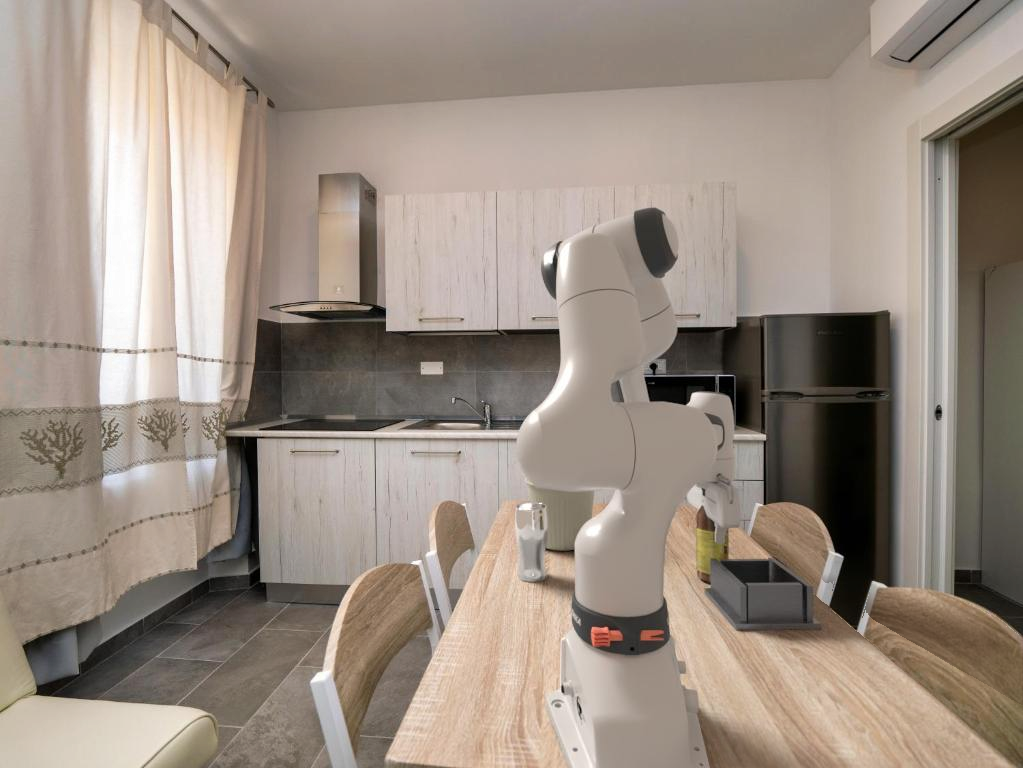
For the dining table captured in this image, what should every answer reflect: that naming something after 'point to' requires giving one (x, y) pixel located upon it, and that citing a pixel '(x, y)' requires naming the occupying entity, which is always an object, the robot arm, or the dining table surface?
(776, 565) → the square socket
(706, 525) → the sauce bottle
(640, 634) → the robot arm
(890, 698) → the dining table surface
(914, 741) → the dining table surface
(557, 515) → the canister
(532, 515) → the beer glass
